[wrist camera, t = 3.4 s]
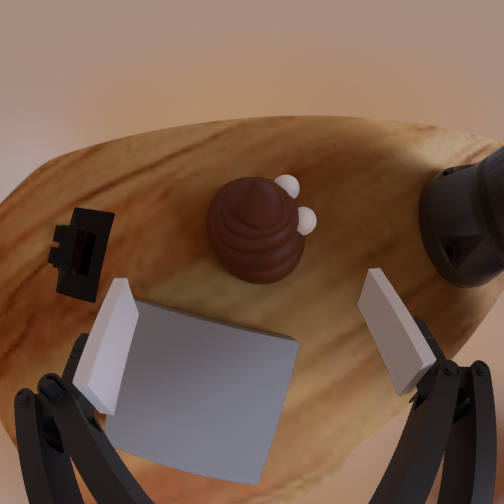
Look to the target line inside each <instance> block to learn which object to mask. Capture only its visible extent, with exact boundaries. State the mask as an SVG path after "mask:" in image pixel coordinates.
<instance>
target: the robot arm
mask: <svg viewBox="0 0 504 504" xmlns="http://www.w3.org/2000/svg"><path fill="white" fill-rule="evenodd" d="M419 217H420V226H421V231H422V236H423V239H424V243H425V246H426V248H427V251H428V253H429V255H430V258H431V260H432V261H433V263H434V265H435V266H436V268H437V269H438V271H439V272H440V273H441V275H442V276H443V277H444V278H445V279H446V280H447V281H449V282H450V283H451V284H453V285H455V286H457V287H460V288H472V287H478V286H482V285H484V284H486V283H488V282H489V281H491V280H492V279H494V278H495V277H496V276H498V275H499V274H501V273H502V272H503V271H504V146H502V147H501V148H499V149H498V150H496V151H495V152H494V153H492V154H491V155H489V156H488V157H487V158H485V159H484V160H482V161H481V162H479V163H473V164H468V165H462V166H456V167H451V168H447V169H444V170H442V171H440V172H439V173H438V174H436V175H435V176H434V177H432V178H431V179H430V180H429V181H428V182H427V183H426V185H425V187H424V188H423V191H422V194H421V198H420V206H419ZM357 305H358V307H359V310H360V312H361V314H362V316H363V318H364V320H365V322H366V324H367V326H368V328H369V330H370V333H371V335H372V337H373V339H374V341H375V343H376V346H377V348H378V350H379V352H380V355H381V357H382V359H383V361H384V364H385V366H386V368H387V371H388V373H389V375H390V378H391V380H392V382H393V385H394V387H395V390H396V392H397V395H398V396H401V395H404V394H407V393H411V391H412V390H413V389H414V388H415V387H417V389H418V392H417V393H416V394H415V395H414V396H413V397H412V398H411V400H410V401H409V403H411V402H412V401H413V400H414V401H413V405H412V408H411V411H410V413H409V416H408V419H407V422H406V425H405V427H404V430H403V433H402V435H401V438H400V440H399V443H398V445H397V447H396V450H395V452H394V454H393V457H392V459H391V461H390V463H389V465H388V467H387V470H386V472H385V474H384V476H383V478H382V480H381V482H380V483H379V485H378V487H377V489H376V491H375V493H374V495H373V497H372V498H371V500H370V502H369V504H425V502H426V500H427V497H428V495H429V493H430V490H431V488H432V485H433V483H434V480H435V478H436V475H437V472H438V469H439V466H440V463H441V460H442V457H443V454H444V463H443V471H442V479H441V485H440V491H439V497H438V502H437V504H492V503H493V496H494V487H495V476H496V456H497V449H496V448H497V447H496V446H497V437H496V417H495V405H494V395H493V387H492V380H491V375H490V370H489V367H488V366H487V364H485V363H484V362H483V361H480V360H477V361H475V362H474V363H473V364H472V365H471V366H470V367H459V366H458V365H457V364H456V363H455V362H453V361H452V360H447V359H446V358H445V356H444V355H443V353H442V351H441V349H440V348H439V346H438V344H437V342H436V341H435V339H434V337H433V336H432V334H431V332H429V329H428V327H427V326H426V324H425V323H424V322H423V321H422V320H421V319H420V318H419V317H418V316H416V317H412V316H411V315H410V313H409V312H408V310H407V308H406V307H405V305H404V304H403V302H402V300H401V299H400V297H399V296H398V294H397V293H396V291H395V290H394V288H393V287H392V285H391V284H390V282H389V281H388V279H387V278H386V276H385V275H384V273H383V272H382V270H381V269H380V268H373V269H368V272H367V276H366V279H365V282H364V286H363V289H362V292H361V295H360V298H359V301H358V304H357ZM138 317H139V313H138V310H137V307H136V305H135V302H134V299H133V296H132V293H131V290H130V287H129V283H128V280H127V278H114V280H113V282H112V284H111V286H110V288H109V291H108V293H107V295H106V297H105V299H104V302H103V304H102V306H101V308H100V311H99V313H98V315H97V318H96V320H95V322H94V325H93V327H92V330H91V332H90V334H86V333H82V334H81V335H80V336H79V338H78V339H77V340H76V341H75V344H74V346H73V349H72V351H71V354H70V358H69V359H68V361H67V364H66V367H65V369H64V372H63V375H62V378H60V377H59V376H58V375H57V374H55V373H49V374H45V375H44V376H43V377H42V378H41V379H40V381H39V382H38V386H37V389H38V393H39V394H34V393H33V392H32V391H31V390H30V389H28V388H24V389H21V390H20V391H19V392H18V393H17V394H16V396H15V401H14V408H15V425H16V436H17V445H18V452H19V458H20V465H21V470H22V475H23V480H24V485H25V489H26V492H27V497H28V500H29V504H84V501H83V498H82V495H81V493H80V490H79V487H78V484H77V480H76V477H75V474H74V470H73V467H72V463H71V459H70V456H71V458H72V460H73V462H74V464H75V466H76V468H77V470H78V472H79V473H80V475H81V477H82V479H83V481H84V482H85V484H86V486H87V487H88V489H89V491H90V492H91V494H92V496H93V497H94V499H95V500H96V502H97V503H98V504H154V503H153V501H152V500H151V499H150V498H149V497H148V495H147V494H146V493H145V492H144V490H143V489H142V488H141V486H140V485H139V484H138V483H137V481H136V480H135V478H134V477H133V476H132V474H131V473H130V472H129V470H128V469H127V467H126V466H125V464H124V463H123V461H122V460H121V458H120V457H119V455H118V454H117V452H116V451H115V449H114V448H113V446H112V444H111V443H110V441H109V439H108V438H107V436H106V434H105V433H104V431H103V429H102V427H101V426H100V424H99V422H98V420H97V418H96V417H95V415H94V414H93V413H94V409H95V408H96V410H97V411H98V412H99V413H103V414H108V415H114V413H115V408H116V403H117V399H118V394H119V389H120V385H121V381H122V376H123V372H124V368H125V364H126V360H127V356H128V352H129V349H130V345H131V341H132V338H133V334H134V330H135V327H136V324H137V320H138ZM444 451H445V453H444ZM69 454H70V455H69Z"/></svg>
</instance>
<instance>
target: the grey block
mask: <svg viewBox="0 0 504 504" xmlns="http://www.w3.org/2000/svg"><path fill="white" fill-rule="evenodd" d="M133 299H134V302H135V305H136V307H137V310H138V313H139V317H138V320H137V324H136V327H135V330H134V334H133V338H132V341H131V345H130V349H129V352H128V356H127V360H126V364H125V368H124V372H123V376H122V381H121V385H120V389H119V394H118V399H117V403H116V408H115V413H114V415H108V414H106V421H105V434H106V436H107V438H108V439H109V441H110V443H111V444H112V446H113V447H115V448H118V449H120V450H123V451H125V452H127V453H130V454H133V455H135V456H138V457H141V458H143V459H146V460H149V461H152V462H155V463H158V464H161V465H165V466H168V467H171V468H175V469H178V470H182V471H186V472H189V473H193V474H198V475H202V476H206V477H211V478H216V479H221V480H227V481H233V482H239V483H246V484H254V485H258V482H259V479H260V476H261V474H262V471H263V468H264V465H265V462H266V459H267V456H268V453H269V450H270V447H271V444H272V441H273V438H274V434H275V431H276V428H277V425H278V421H279V418H280V415H281V411H282V408H283V404H284V401H285V397H286V394H287V390H288V386H289V383H290V379H291V375H292V371H293V368H294V364H295V360H296V356H297V352H298V348H299V344H300V342H299V341H297V340H295V339H293V338H292V337H289V336H284V335H279V334H274V333H270V332H265V331H260V330H256V329H251V328H247V327H242V326H238V325H234V324H230V323H226V322H222V321H218V320H214V319H210V318H206V317H202V316H198V315H195V314H191V313H187V312H184V311H180V310H176V309H173V308H169V307H166V306H163V305H159V304H156V303H153V302H149V301H146V300H143V299H136V298H133Z"/></svg>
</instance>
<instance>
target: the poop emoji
mask: <svg viewBox="0 0 504 504" xmlns="http://www.w3.org/2000/svg"><path fill="white" fill-rule="evenodd" d="M299 190H300V184H299V181H298V180H297V179H296V178H294V177H293V176H291V175H281V176H279V177H277V178H276V179H275V180H274V181H272V180H270V179H267V178H261V177H255V178H250V177H249V178H240V179H236V180H233V181H231V182H229V183H228V184H226V185H225V186H223V187H222V188H221V189H220V190H219V191H218V192H217V194H216V195H215V196H214V198H213V200H212V202H211V204H210V207H209V210H208V215H207V230H208V235H209V238H210V241H211V243H212V245H213V248H214V250H215V253H216V254H217V256H218V258H219V260H220V261H221V262H222V264H223V265H224V266H225V267H226V268H227V269H228V270H229V271H230V272H231V273H232V274H234V275H235V276H236V277H238V278H240V279H242V280H244V281H247V282H250V283H254V284H270V283H274V282H277V281H279V280H281V279H283V278H285V277H286V276H288V275H289V274H290V273H291V272H292V271H293V270H294V269H295V267H296V266H297V265H298V263H299V261H300V259H301V256H302V253H303V249H304V243H305V235H307V234H309V233H310V232H312V231H313V229H314V228H315V226H316V223H317V216H316V213H315V212H314V211H313V210H311V209H310V208H307V207H298V206H297V204H296V202H295V200H294V199H295V198H296V197H297V195H298V193H299Z"/></svg>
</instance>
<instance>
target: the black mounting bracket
mask: <svg viewBox="0 0 504 504" xmlns="http://www.w3.org/2000/svg"><path fill="white" fill-rule="evenodd" d="M114 216H115V214H114V213H110V212H104V211H97V210H90V209H84V208H77V207H75V208H74V211H73V215H72V218H71V222H70V225H68V226H66V225H62V226H59V225H56V229H55V233H54V237H53V241H54V242H58V243H60V246H59V248H56V247H51V250H50V254H49V259H48V263H51V264H53V267H55V268H58V271H59V277H58V283H57V289H56V292H57V293H60V294H63V295H66V296H70V297H73V298H77V299H80V300H84V301H88V302H92V303H95V302H96V296H97V290H98V285H99V279H100V274H101V269H102V264H103V260H104V255H105V251H106V247H107V243H108V238H109V235H110V231H111V227H112V223H113V220H114Z"/></svg>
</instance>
